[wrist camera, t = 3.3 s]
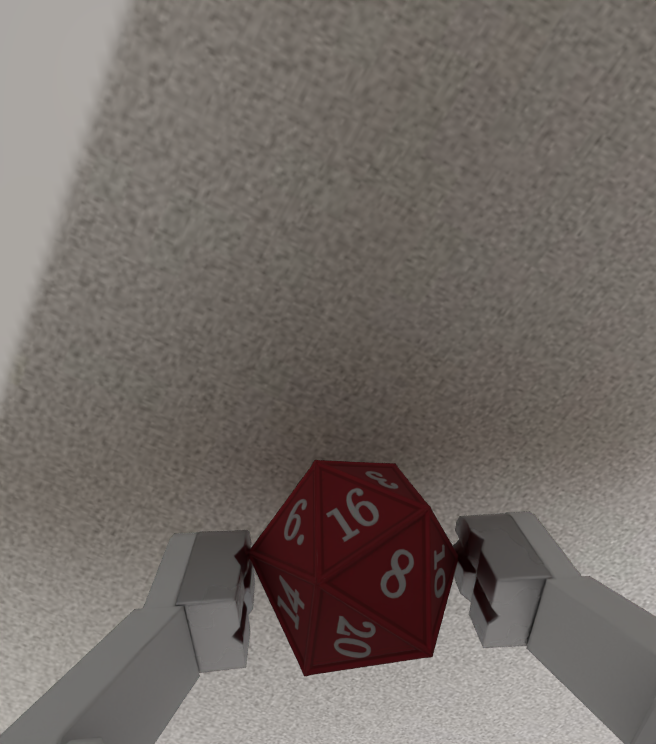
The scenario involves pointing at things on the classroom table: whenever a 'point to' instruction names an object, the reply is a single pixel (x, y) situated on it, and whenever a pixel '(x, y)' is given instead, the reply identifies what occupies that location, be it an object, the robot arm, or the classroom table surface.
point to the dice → (356, 568)
